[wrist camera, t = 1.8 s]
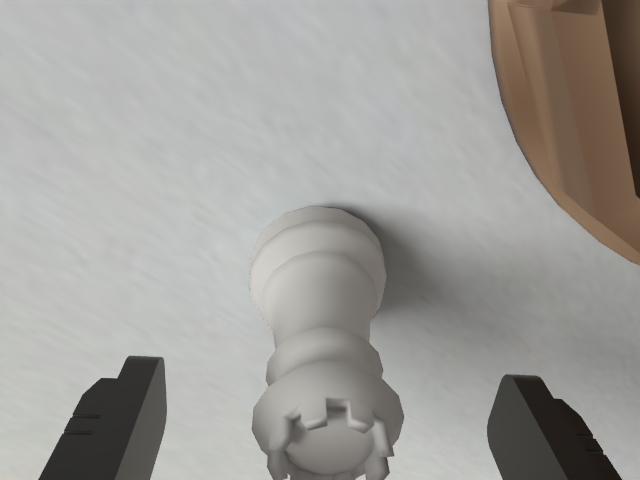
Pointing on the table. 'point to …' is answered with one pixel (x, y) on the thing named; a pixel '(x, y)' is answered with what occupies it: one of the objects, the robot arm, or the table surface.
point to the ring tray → (576, 106)
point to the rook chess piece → (322, 348)
